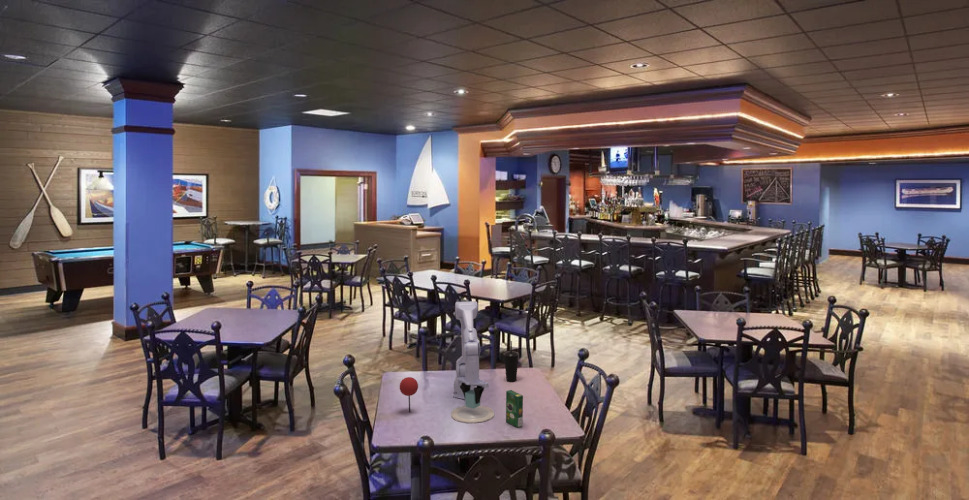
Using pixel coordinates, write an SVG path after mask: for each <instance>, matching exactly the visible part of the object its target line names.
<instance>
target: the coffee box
mask: <svg viewBox="0 0 969 500" xmlns="http://www.w3.org/2000/svg"><path fill="white" fill-rule="evenodd" d="M505 392H506V393H505V397H506V398H505V421H506V423H507V424H510V425H512V426H513V427H515V428H517V429H519V428H522V427H523V421H524V420H523V416H524V415H523V413H524V411H523V410H524V409H523V408H524V395H522V394H520V393H519V392H517V391H514V390H512V389H508V390H506V391H505Z"/></svg>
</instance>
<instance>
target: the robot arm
mask: <svg viewBox="0 0 969 500" xmlns="http://www.w3.org/2000/svg"><path fill="white" fill-rule="evenodd" d="M478 309H479V306H478V302H477V301H476V300H473V301H456V302H455V305H454V312H455V319H456V320H458V321H459V322H460V324H461V325H460V326H461V328H460V331H461V333H460V334H461V335H460V336H461V356H460V357H458V358H457V360H456V361H455V362H456V363H455V375H456V377H455V378H454V380H453V395H452V397H453V398H455V399H456V398H457V399H461V400H465V392H467V391H469V390H474V392H475V402H476V404H478V403H480V404H481V398H482V395H483V393H484V390H485V389H489V382H487V381H484V380H481V379H480V354H481V344H480V341H479V339H478V333H477V329H476V328H474V319H476V318H477V316H478V314H479V313H478V311H479V310H478Z"/></svg>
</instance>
